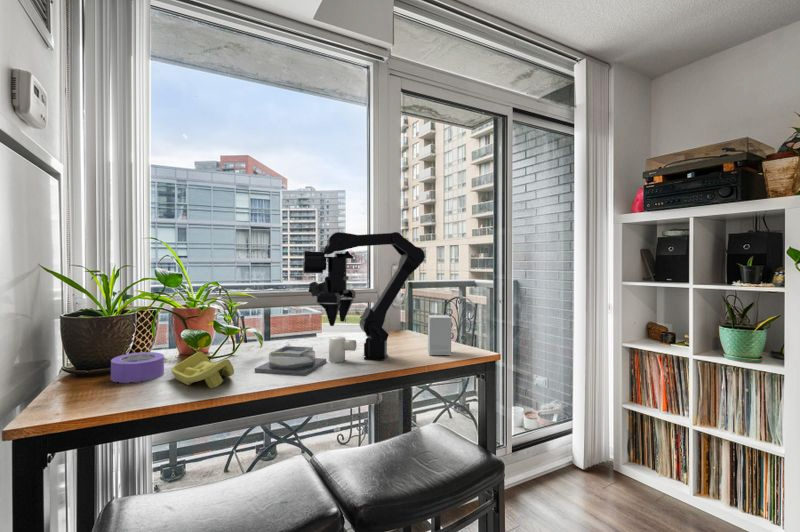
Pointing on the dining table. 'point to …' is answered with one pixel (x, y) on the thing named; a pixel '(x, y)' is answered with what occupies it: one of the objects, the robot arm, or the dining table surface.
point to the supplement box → (439, 334)
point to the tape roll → (137, 367)
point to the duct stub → (291, 361)
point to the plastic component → (202, 370)
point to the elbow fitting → (340, 348)
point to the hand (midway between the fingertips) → (337, 323)
